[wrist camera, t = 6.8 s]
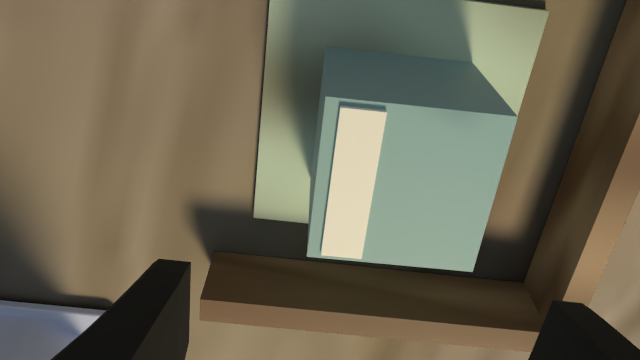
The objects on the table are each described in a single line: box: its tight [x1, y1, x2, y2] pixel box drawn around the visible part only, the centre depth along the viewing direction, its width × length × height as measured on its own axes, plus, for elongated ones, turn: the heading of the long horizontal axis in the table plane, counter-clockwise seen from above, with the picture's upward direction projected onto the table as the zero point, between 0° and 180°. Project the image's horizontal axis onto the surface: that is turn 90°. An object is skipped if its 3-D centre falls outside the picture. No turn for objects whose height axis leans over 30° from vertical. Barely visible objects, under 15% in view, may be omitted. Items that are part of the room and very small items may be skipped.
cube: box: [307, 46, 518, 272], centre depth 18 cm, size 5×5×5 cm
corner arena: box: [200, 0, 640, 352], centre depth 19 cm, size 15×14×3 cm
